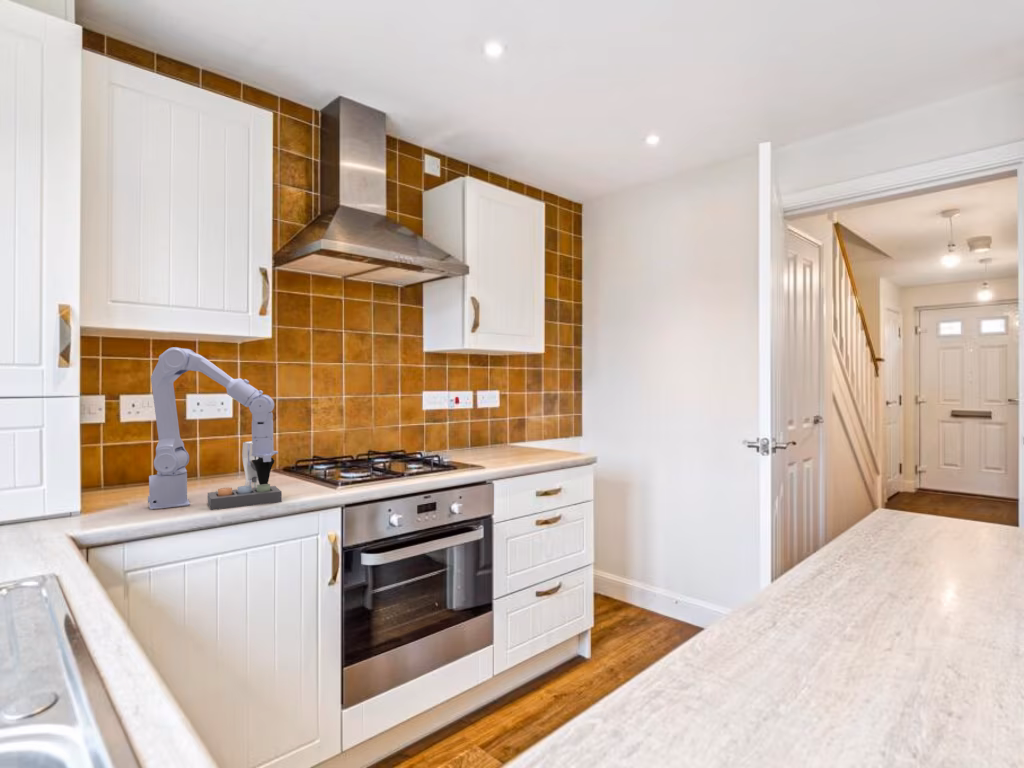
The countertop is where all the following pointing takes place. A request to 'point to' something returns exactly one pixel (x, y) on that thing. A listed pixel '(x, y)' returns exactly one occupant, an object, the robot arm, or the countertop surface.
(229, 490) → the orange button
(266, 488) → the green button
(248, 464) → the beer glass
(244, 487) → the blue button
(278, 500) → the button panel
